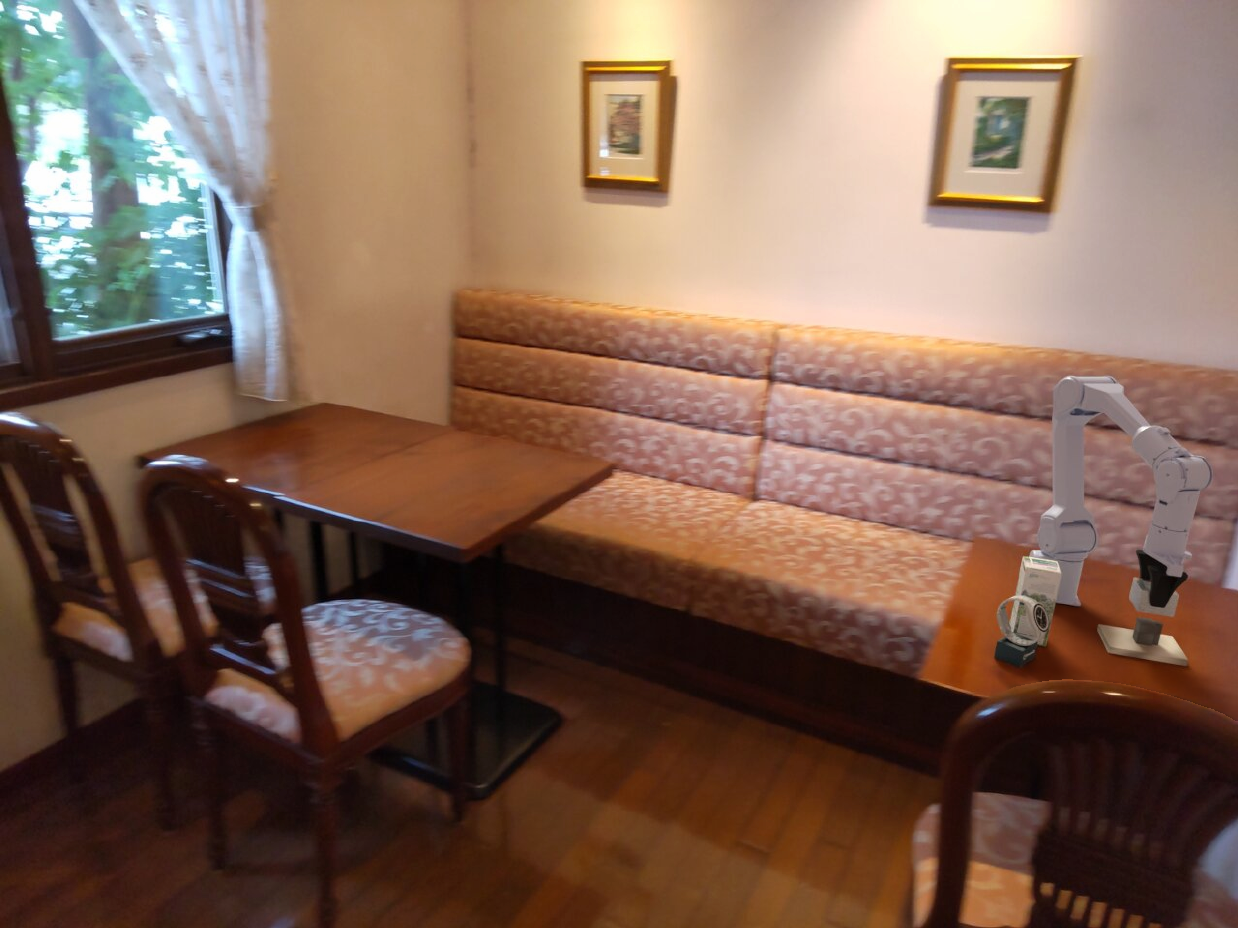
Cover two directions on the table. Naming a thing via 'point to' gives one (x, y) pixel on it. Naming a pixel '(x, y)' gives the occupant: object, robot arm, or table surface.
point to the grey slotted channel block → (1142, 599)
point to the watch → (1017, 646)
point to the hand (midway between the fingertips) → (1152, 599)
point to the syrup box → (1035, 593)
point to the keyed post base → (1142, 642)
